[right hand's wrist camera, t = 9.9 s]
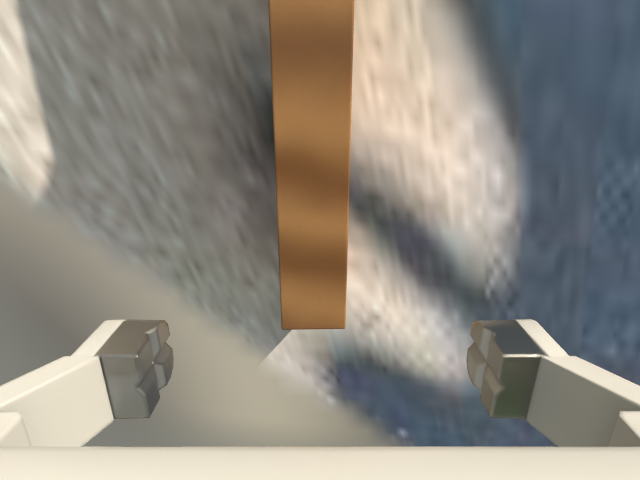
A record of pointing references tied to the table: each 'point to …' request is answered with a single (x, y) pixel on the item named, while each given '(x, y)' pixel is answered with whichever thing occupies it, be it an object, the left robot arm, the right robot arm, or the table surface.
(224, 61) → the table surface
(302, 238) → the beam
